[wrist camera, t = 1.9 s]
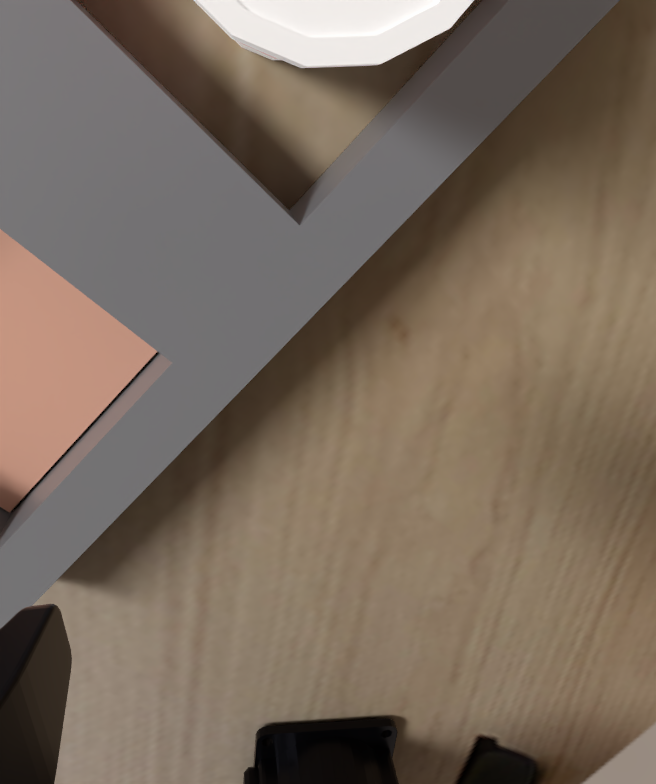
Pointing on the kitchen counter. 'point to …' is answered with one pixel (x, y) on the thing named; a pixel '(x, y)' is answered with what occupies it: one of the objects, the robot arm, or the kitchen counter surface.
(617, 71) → the kitchen counter surface
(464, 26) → the cup caddy
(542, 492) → the kitchen counter surface
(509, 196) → the kitchen counter surface
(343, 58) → the beverage cup
